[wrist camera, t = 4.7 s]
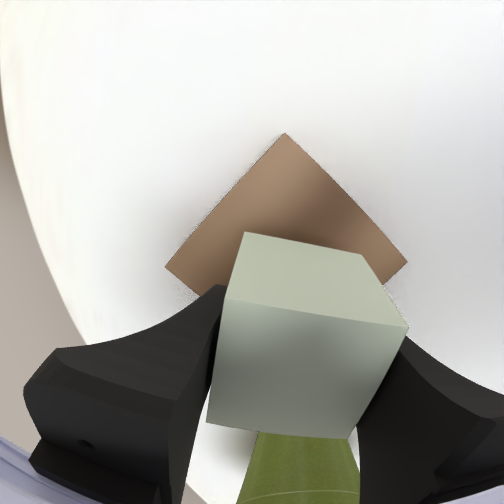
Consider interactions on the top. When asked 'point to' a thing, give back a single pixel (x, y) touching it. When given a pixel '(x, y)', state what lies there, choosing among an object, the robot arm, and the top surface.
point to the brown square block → (282, 220)
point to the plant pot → (300, 471)
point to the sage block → (301, 340)
